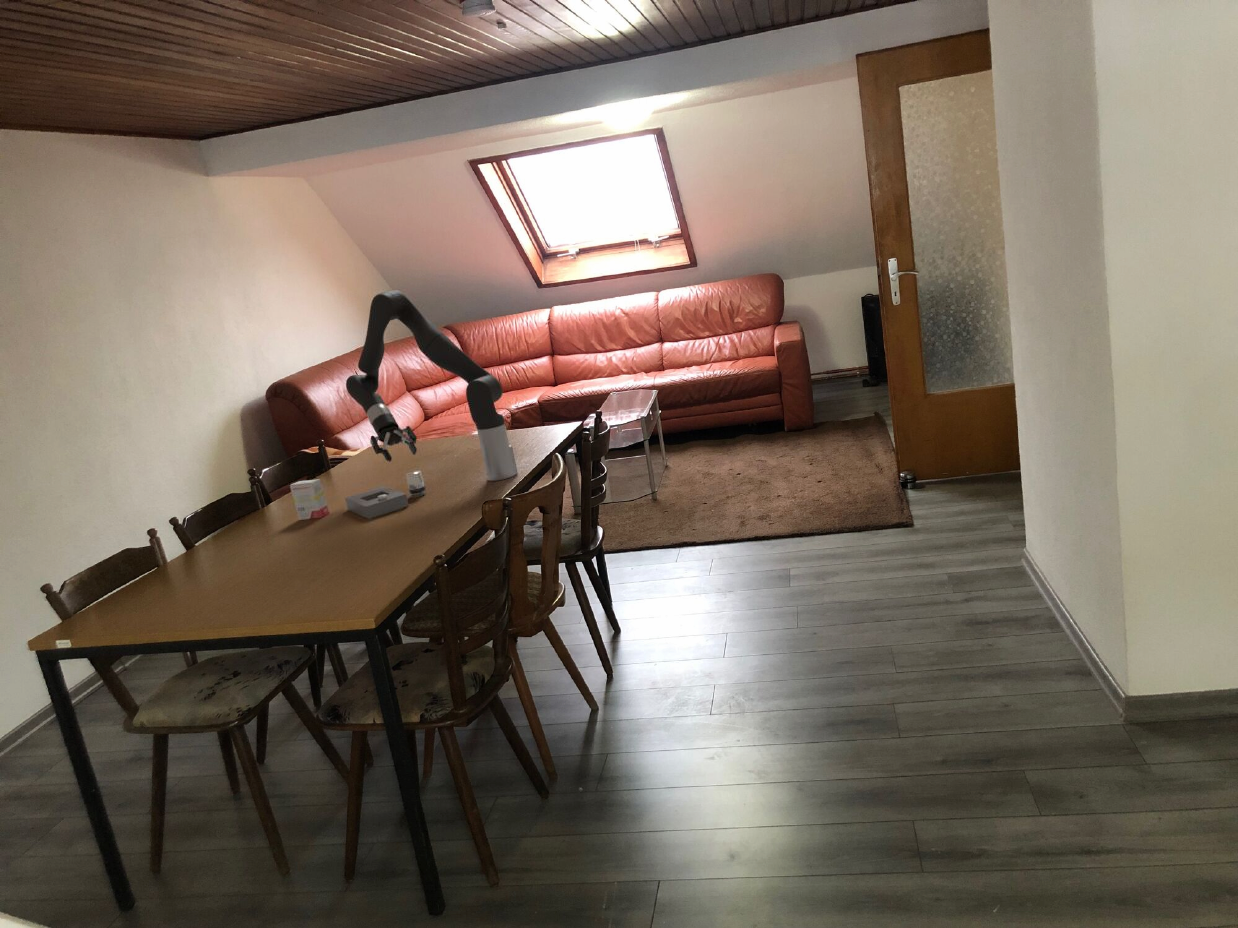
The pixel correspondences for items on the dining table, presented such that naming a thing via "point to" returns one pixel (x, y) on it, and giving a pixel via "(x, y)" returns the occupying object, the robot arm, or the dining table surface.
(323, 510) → the ink box
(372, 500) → the grey slotted tray
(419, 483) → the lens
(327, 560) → the dining table surface
